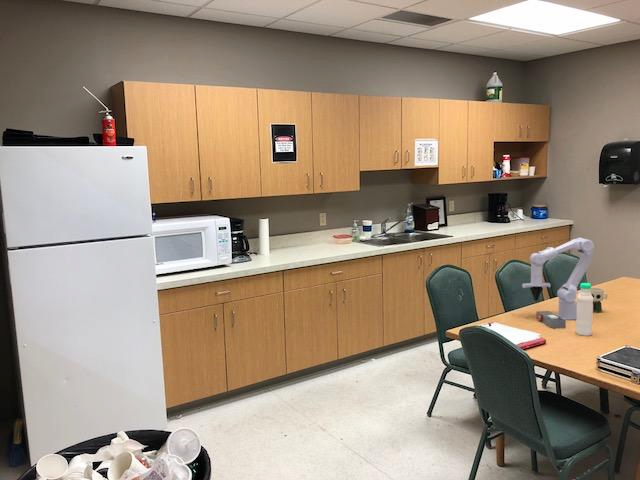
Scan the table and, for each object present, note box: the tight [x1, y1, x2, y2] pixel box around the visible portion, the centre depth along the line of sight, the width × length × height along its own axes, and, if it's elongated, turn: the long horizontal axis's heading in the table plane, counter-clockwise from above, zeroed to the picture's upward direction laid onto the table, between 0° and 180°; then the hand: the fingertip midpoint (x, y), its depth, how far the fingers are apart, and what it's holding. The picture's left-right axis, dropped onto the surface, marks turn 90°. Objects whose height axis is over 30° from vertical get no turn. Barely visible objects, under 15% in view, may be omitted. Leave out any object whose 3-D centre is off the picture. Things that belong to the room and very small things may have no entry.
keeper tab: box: [547, 315, 558, 319], centre depth 266 cm, size 1×5×4 cm
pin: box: [536, 315, 560, 322], centre depth 274 cm, size 11×3×3 cm, turn 91°
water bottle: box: [575, 282, 594, 337], centre depth 250 cm, size 7×7×25 cm
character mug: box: [590, 287, 608, 313], centre depth 289 cm, size 11×7×13 cm, turn 53°
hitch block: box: [535, 310, 567, 329], centre depth 270 cm, size 7×18×5 cm, turn 1°
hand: (535, 300), depth 278 cm, fingers closed
